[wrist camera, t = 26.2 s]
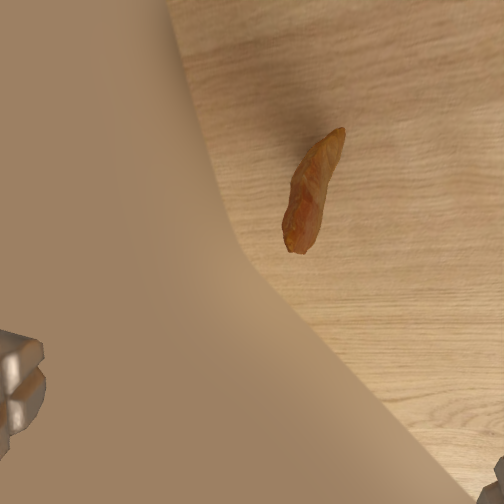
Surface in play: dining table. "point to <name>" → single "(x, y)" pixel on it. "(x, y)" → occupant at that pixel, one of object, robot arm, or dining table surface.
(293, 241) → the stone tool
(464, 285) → the dining table surface
